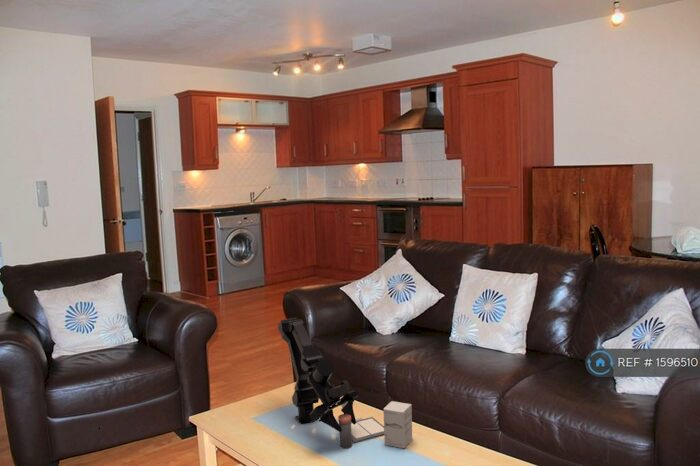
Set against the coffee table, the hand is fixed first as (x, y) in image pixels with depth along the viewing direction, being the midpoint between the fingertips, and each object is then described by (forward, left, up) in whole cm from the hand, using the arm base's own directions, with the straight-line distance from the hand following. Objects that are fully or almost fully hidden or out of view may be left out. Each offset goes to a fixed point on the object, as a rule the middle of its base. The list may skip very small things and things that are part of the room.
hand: (348, 427), depth 194 cm
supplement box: (+6, +15, -7) cm, 18 cm away
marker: (-1, -1, -7) cm, 7 cm away
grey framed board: (-8, +9, -7) cm, 14 cm away
